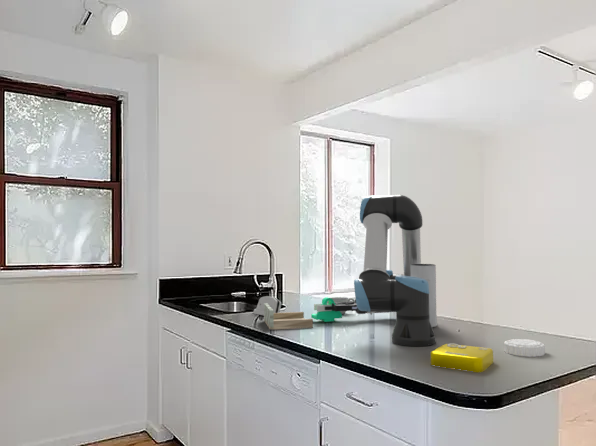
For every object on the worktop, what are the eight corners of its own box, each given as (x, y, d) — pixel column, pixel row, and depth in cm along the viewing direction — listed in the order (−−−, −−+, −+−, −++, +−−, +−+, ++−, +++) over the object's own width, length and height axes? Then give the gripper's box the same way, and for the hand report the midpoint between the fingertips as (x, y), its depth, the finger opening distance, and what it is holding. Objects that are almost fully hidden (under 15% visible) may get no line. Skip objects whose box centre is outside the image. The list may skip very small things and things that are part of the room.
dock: (312, 327, 211) (312, 308, 212) (270, 329, 208) (269, 310, 209) (303, 319, 233) (302, 302, 233) (264, 321, 230) (264, 303, 230)
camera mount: (335, 318, 232) (334, 295, 232) (342, 320, 224) (341, 297, 225) (310, 319, 228) (310, 296, 228) (316, 322, 220) (316, 298, 221)
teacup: (324, 315, 245) (323, 298, 246) (329, 311, 256) (329, 295, 256) (352, 315, 241) (352, 299, 242) (356, 312, 252) (356, 296, 252)
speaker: (439, 324, 214) (437, 262, 214) (435, 328, 205) (433, 264, 205) (414, 322, 219) (412, 262, 219) (408, 327, 209) (407, 264, 209)
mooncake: (514, 347, 171) (514, 336, 171) (551, 352, 162) (551, 341, 162) (497, 352, 163) (497, 341, 163) (534, 359, 154) (534, 347, 154)
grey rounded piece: (252, 313, 255) (258, 293, 257) (260, 315, 258) (265, 296, 260) (270, 317, 242) (276, 296, 244) (278, 319, 244) (283, 299, 246)
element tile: (428, 367, 147) (428, 350, 147) (445, 356, 160) (444, 341, 160) (481, 374, 139) (481, 357, 139) (494, 363, 151) (494, 346, 151)
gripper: (372, 316, 221) (321, 319, 215) (358, 311, 237) (310, 313, 231) (372, 298, 221) (321, 301, 215) (358, 295, 237) (310, 297, 231)
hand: (315, 307), depth 223 cm, fingers closed on camera mount, 3 cm apart
